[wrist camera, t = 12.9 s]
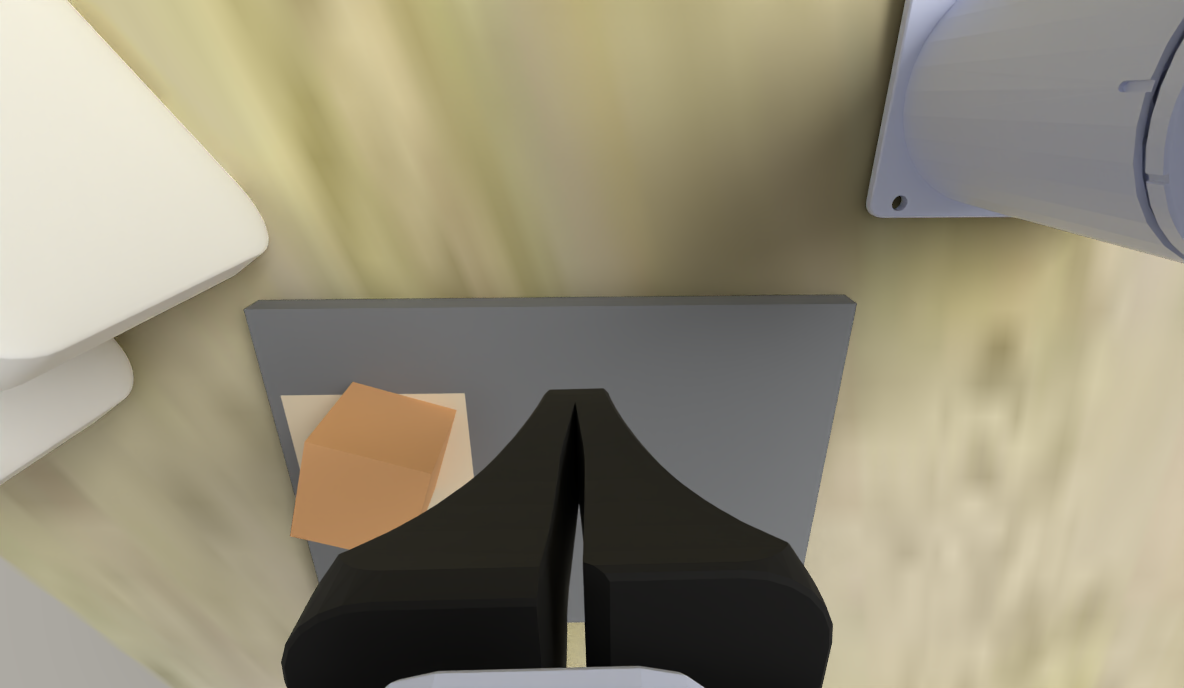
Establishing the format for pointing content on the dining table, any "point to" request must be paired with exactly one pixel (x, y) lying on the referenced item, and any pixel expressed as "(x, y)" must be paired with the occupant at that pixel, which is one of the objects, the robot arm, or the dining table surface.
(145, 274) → the cable organizer
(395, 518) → the plug block
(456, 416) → the grey rectangular board
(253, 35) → the dining table surface
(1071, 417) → the dining table surface
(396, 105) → the dining table surface
